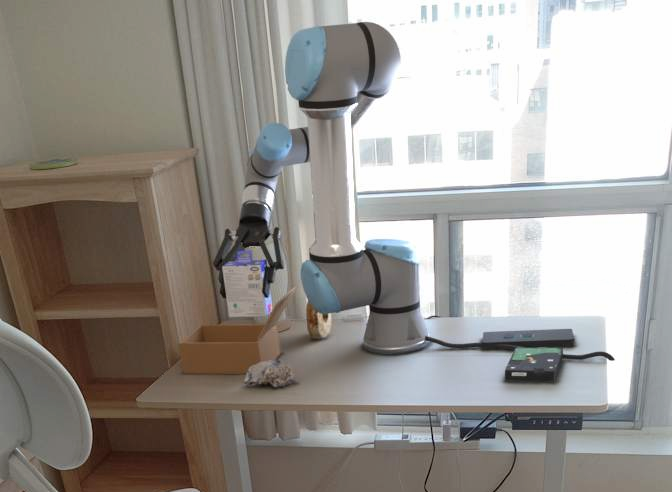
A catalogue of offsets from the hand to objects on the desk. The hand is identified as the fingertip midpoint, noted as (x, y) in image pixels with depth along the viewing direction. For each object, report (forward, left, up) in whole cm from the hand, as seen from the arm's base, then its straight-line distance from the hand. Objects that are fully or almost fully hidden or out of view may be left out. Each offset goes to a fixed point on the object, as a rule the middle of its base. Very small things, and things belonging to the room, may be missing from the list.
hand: (244, 295), depth 219 cm
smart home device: (-66, -1, -12) cm, 67 cm away
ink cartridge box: (0, -3, -6) cm, 6 cm away
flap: (-12, +13, -1) cm, 18 cm away
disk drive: (-69, +18, -12) cm, 72 cm away
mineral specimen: (-14, +27, -12) cm, 32 cm away
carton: (0, +13, -12) cm, 18 cm away
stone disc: (-16, -6, -12) cm, 21 cm away
